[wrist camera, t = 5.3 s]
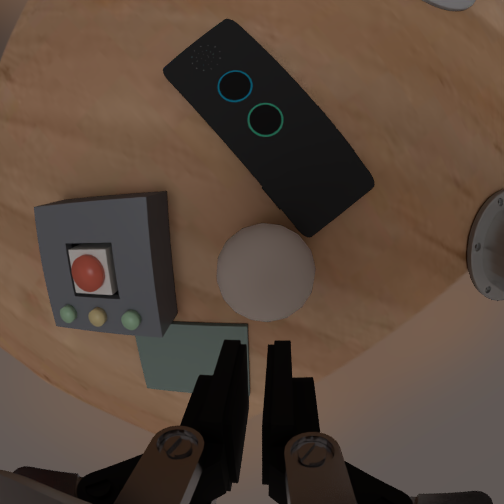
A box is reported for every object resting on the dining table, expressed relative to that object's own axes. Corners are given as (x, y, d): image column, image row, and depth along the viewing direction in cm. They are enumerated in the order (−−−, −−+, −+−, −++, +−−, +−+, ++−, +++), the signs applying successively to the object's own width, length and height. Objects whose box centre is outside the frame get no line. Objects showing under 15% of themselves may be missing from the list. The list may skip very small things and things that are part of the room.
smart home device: (230, 14, 22) (379, 183, 25) (232, 22, 23) (373, 181, 27) (157, 71, 24) (305, 242, 27) (163, 76, 25) (303, 237, 29)
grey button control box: (166, 191, 28) (142, 197, 22) (177, 312, 31) (159, 342, 25) (63, 199, 28) (28, 208, 23) (80, 306, 32) (52, 329, 26)
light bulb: (316, 259, 28) (339, 313, 18) (252, 290, 30) (241, 356, 19) (283, 194, 27) (291, 212, 17) (217, 228, 28) (185, 266, 18)
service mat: (247, 323, 31) (247, 326, 30) (249, 392, 33) (249, 396, 32) (134, 318, 31) (132, 321, 31) (148, 385, 34) (147, 387, 33)
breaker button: (120, 240, 27) (101, 251, 23) (126, 282, 28) (109, 297, 24) (85, 241, 27) (64, 251, 24) (91, 281, 28) (72, 295, 25)
